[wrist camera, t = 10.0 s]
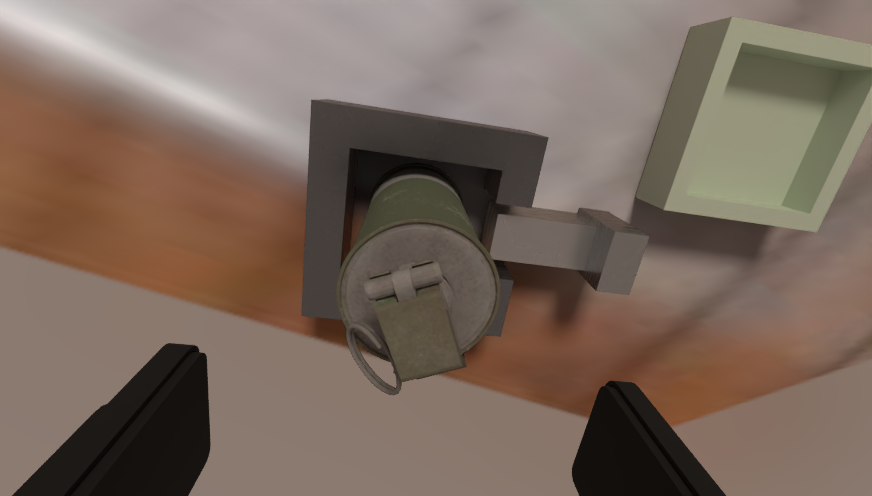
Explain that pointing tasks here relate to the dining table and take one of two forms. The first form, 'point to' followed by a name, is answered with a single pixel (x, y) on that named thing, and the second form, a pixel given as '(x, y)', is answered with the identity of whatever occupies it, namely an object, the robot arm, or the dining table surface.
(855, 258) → the dining table surface
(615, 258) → the grey stepped block
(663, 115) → the tray
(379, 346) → the grenade
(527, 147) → the socket
